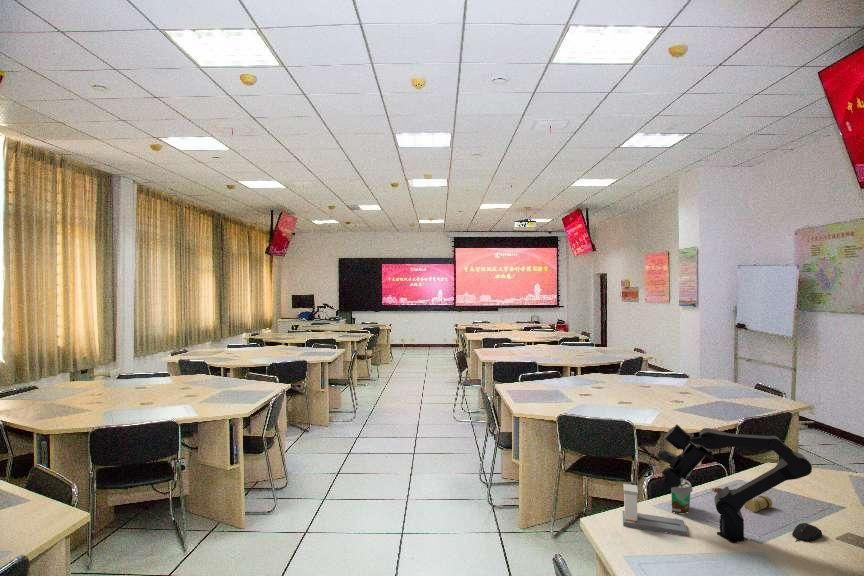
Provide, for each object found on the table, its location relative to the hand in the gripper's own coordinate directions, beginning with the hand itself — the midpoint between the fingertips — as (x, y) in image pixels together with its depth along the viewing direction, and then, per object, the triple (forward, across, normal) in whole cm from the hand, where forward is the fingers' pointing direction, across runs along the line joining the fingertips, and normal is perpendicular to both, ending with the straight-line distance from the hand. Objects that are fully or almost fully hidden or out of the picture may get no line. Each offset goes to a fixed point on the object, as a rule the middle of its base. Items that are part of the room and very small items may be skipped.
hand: (661, 490), depth 168 cm
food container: (+5, -18, +9) cm, 21 cm away
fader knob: (+14, +4, -1) cm, 14 cm away
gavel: (-6, -41, +20) cm, 46 cm away
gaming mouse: (-16, -22, +39) cm, 47 cm away
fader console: (+11, +1, +5) cm, 12 cm away
